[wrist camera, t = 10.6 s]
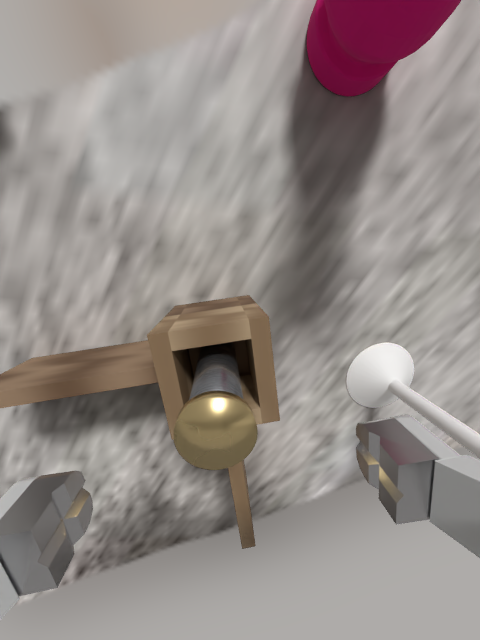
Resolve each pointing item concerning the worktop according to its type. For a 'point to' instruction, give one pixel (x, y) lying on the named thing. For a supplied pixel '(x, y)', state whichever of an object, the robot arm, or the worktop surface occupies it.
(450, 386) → the worktop surface
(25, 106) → the worktop surface
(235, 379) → the hinge pin
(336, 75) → the pepper mill
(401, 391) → the champagne flute
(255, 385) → the hinge
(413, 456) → the robot arm
